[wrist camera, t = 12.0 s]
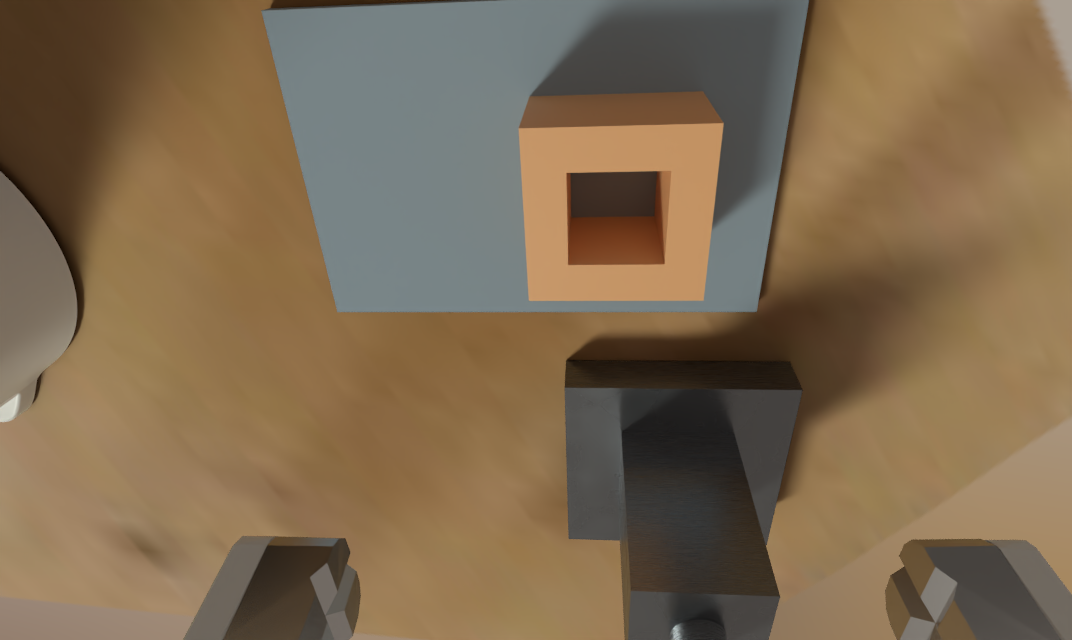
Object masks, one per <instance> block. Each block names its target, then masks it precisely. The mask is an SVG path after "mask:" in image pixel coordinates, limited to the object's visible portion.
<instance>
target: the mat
mask: <svg viewBox="0 0 1072 640" xmlns="http://www.w3.org/2000/svg"><path fill="white" fill-rule="evenodd" d="M808 4H809V0H455V1H432V2H409V3H386V4H363V5H339V6H316V7H293V8H270V9H266V10H262V15H263V19H264V23H265V27H266V31H267V35H268V39H269V43H270V47H271V50H272V54H273V58H274V62H275V66H276V70H277V74H278V78H279V82H280V86H281V90H282V94H283V98H284V102H285V106H286V110H287V114H288V118H289V122H290V126H291V130H292V134H293V138H294V142H295V145H296V149H297V153H298V157H299V161H300V165H301V169H302V173H303V177H304V181H305V185H306V189H307V193H308V197H309V201H310V205H311V209H312V213H313V217H314V221H315V225H316V229H317V233H318V237H319V240H320V244H321V248H322V252H323V256H324V260H325V264H326V268H327V272H328V276H329V280H330V284H331V288H332V292H333V296H334V300H335V304H336V308H337V312H757V307H758V301H759V295H760V289H761V283H762V277H763V271H764V265H765V259H766V253H767V247H768V241H769V235H770V229H771V224H772V218H773V212H774V206H775V200H776V194H777V188H778V182H779V176H780V170H781V164H782V158H783V152H784V146H785V140H786V134H787V129H788V123H789V117H790V111H791V105H792V99H793V93H794V87H795V81H796V75H797V69H798V63H799V57H800V51H801V45H802V39H803V34H804V28H805V22H806V16H807V10H808ZM696 91H703V92H704V94H705V95H706V97H707V98H708V100H709V101H710V103H711V104H712V106H713V107H714V109H715V111H716V112H717V114H718V115H719V117H720V118H721V120H722V121H723V123H724V125H723V134H722V143H721V152H720V160H719V169H718V178H717V187H716V195H715V204H714V213H713V222H712V231H711V239H710V248H709V257H708V266H707V274H706V283H705V292H704V301H529V295H528V278H527V262H526V245H525V228H524V211H523V195H522V178H521V161H520V144H519V126H520V123H521V120H522V117H523V114H524V111H525V108H526V105H527V102H528V99H529V96H561V95H595V94H628V93H662V92H696ZM570 174H571V217H641V216H654V213H655V197H656V180H657V171H639V172H586V173H570Z"/></svg>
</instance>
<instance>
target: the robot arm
mask: <svg viewBox="0 0 1072 640" xmlns="http://www.w3.org/2000/svg"><path fill="white" fill-rule="evenodd" d="M76 321H77V298H76V291H75V287H74V283H73V279H72V276H71V273H70V270H69V267H68V265H67V262H66V260H65V258H64V255H63V253H62V251H61V249H60V247H59V245H58V243H57V242H56V240H55V238H54V236H53V235H52V233H51V231H50V230H49V228H48V227H47V225H46V224H45V222H44V221H43V219H42V218H41V217H40V215H39V214H38V213H37V211H36V210H35V209H34V207H33V206H32V205H31V204H30V202H29V201H28V200H27V199H26V198H25V196H24V195H23V194H22V193H21V192H20V191H19V190H18V189H17V188H16V186H15V185H14V184H13V183H12V182H11V181H10V180H9V179H8V178H7V177H6V176H5V175H4V174H3V173H2V172H1V171H0V422H8V421H11V420H13V419H15V418H16V417H18V416H19V415H20V414H22V413H23V412H25V411H26V410H28V409H29V408H30V406H31V405H32V403H33V399H34V396H35V390H36V384H37V378H38V377H39V376H40V374H41V373H42V372H43V371H44V370H45V369H46V368H47V367H49V366H50V365H51V364H52V363H54V362H55V361H56V360H57V359H58V358H59V357H60V356H61V355H62V354H63V353H64V351H65V350H66V349H67V347H68V345H69V344H70V342H71V339H72V337H73V335H74V331H75V327H76ZM349 555H350V550H349V547H348V545H347V542H346V539H345V538H312V537H278V536H242V537H241V538H240V539H239V540H238V541H237V542H236V543H235V544H234V545H233V546H232V548H231V550H230V552H229V554H228V556H227V558H226V559H225V561H224V563H223V565H222V567H221V569H220V571H219V573H218V575H217V576H216V578H215V580H214V582H213V584H212V586H211V588H210V590H209V592H208V593H207V595H206V597H205V599H204V601H203V603H202V605H201V607H200V609H199V611H198V612H197V614H196V616H195V618H194V620H193V622H192V624H191V626H190V628H189V629H188V631H187V633H186V635H185V637H184V639H183V640H349V639H350V638H351V637H352V636H353V633H354V630H355V626H356V622H357V619H358V614H359V605H360V596H361V595H360V582H359V578H358V575H357V572H356V571H355V570H354V569H353V568H351V567H350V566H349V565H347V561H348V558H349ZM899 557H900V558H901V560H902V562H903V564H904V567H903V568H901V569H900V570H898V571H897V572H895V573H894V574H892V575H891V576H890V579H889V582H888V584H887V587H886V590H885V594H886V610H887V614H888V618H889V621H890V625H891V627H892V629H893V632H894V634H895V636H896V639H897V640H1072V595H1071V593H1070V592H1069V590H1068V589H1067V588H1066V587H1065V585H1064V584H1063V582H1062V581H1061V580H1060V579H1059V577H1058V576H1057V574H1056V573H1055V572H1054V571H1053V569H1052V568H1051V567H1050V565H1049V564H1048V563H1047V561H1046V560H1045V559H1044V557H1043V556H1042V555H1041V553H1040V552H1039V551H1038V550H1037V548H1036V547H1034V546H1033V545H1032V544H1030V543H1029V542H1027V541H1025V540H982V539H936V540H934V539H933V540H932V539H931V540H911V541H909V542H907V543H906V544H904V546H903V549H902V551H901V553H900V555H899Z"/></svg>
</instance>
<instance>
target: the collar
mask: <svg viewBox="0 0 1072 640" xmlns="http://www.w3.org/2000/svg"><path fill="white" fill-rule="evenodd" d="M723 125H724V123H723V121H722V120H721V118H720V117H719V115H718V114H717V112H716V111H715V109H714V107H713V106H712V104H711V103H710V101H709V100H708V98H707V97H706V95H705V94H704V92H703V91H696V92H662V93H628V94H595V95H561V96H529V99H528V102H527V105H526V108H525V111H524V114H523V117H522V120H521V123H520V126H519V144H520V161H521V178H522V195H523V211H524V228H525V245H526V262H527V278H528V295H529V301H704V292H705V283H706V274H707V266H708V257H709V248H710V239H711V231H712V222H713V213H714V204H715V195H716V187H717V178H718V169H719V160H720V152H721V143H722V134H723ZM639 171H657V180H656V197H655V213H654V216H641V217H571V174H570V173H586V172H639Z"/></svg>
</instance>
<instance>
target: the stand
mask: <svg viewBox="0 0 1072 640" xmlns="http://www.w3.org/2000/svg"><path fill="white" fill-rule="evenodd" d="M802 391H803V390H802V388H801V385H800V383H799V381H798V379H797V377H796V374H795V372H794V370H793V368H792V365H791V363H790V362H732V361H576V360H566V374H565V416H566V454H567V492H568V530H569V539H590V540H620V550H621V571H622V592H623V613H624V634H625V640H768V639H769V636H770V632H771V628H772V625H773V621H774V617H775V613H776V609H777V606H778V602H779V599H780V595H779V591H778V588H777V584H776V581H775V577H774V573H773V570H772V566H771V563H770V559H769V555H768V552H767V548H766V545H767V541H768V537H769V532H770V528H771V524H772V519H773V515H774V511H775V507H776V502H777V498H778V494H779V489H780V485H781V481H782V477H783V472H784V468H785V464H786V459H787V455H788V451H789V446H790V442H791V438H792V434H793V429H794V425H795V421H796V416H797V412H798V408H799V404H800V399H801V395H802Z"/></svg>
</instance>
